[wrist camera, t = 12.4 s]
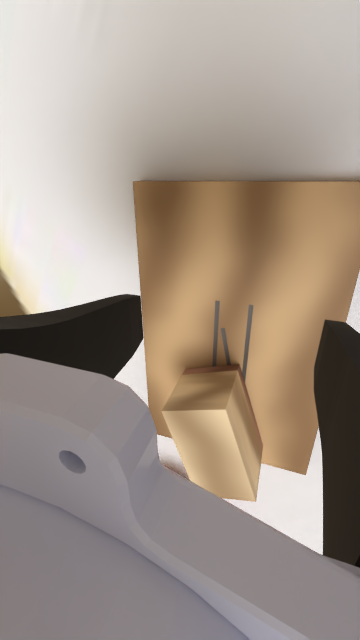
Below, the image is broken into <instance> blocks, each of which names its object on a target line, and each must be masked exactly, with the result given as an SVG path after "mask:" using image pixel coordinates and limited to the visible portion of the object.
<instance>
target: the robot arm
mask: <svg viewBox="0 0 360 640" xmlns="http://www.w3.org/2000/svg"><path fill="white" fill-rule="evenodd" d="M142 340H143V326H142V312H141V298H140V296H138V295H130V294H124V295H117V296H113V297H109V298H105V299H101V300H97V301H93V302H90V303H86V304H82V305H78V306H74V307H69V308H65V309H61V310H56V311H50V312H44V313H38V314H30V315H20V316H9V317H0V640H360V334H359V333H358V332H357V331H356V330H354V329H353V328H352V327H351V326H349V325H348V324H347V323H345V322H341V321H333V320H325V321H324V325H323V330H322V334H321V339H320V343H319V347H318V352H317V356H316V361H315V365H314V397H315V404H316V411H317V418H318V424H319V431H320V438H321V446H322V464H323V555H321V554H318V553H317V552H315V551H313V550H311V549H309V548H308V547H306V546H304V545H302V544H301V543H299V542H297V541H295V540H294V539H292V538H290V537H288V536H287V535H285V534H283V533H281V532H280V531H278V530H276V529H274V528H273V527H271V526H269V525H267V524H266V523H264V522H262V521H260V520H259V519H257V518H255V517H253V516H252V515H250V514H248V513H246V512H244V511H243V510H241V509H239V508H237V507H236V506H234V505H232V504H230V503H229V502H227V501H225V500H223V499H222V498H220V497H218V496H216V495H215V494H213V493H211V492H209V491H208V490H206V489H204V488H202V487H201V486H199V485H197V484H195V483H194V482H192V481H190V480H188V479H186V478H185V477H183V476H181V475H179V474H178V473H176V472H174V471H172V470H171V469H169V468H167V467H165V466H164V465H163V464H162V463H161V462H160V460H159V455H158V447H157V430H156V427H155V424H154V421H153V419H152V416H151V413H150V410H149V408H148V406H147V405H146V404H145V403H144V401H143V400H142V399H141V398H140V397H139V396H138V395H137V394H136V393H135V392H134V391H133V390H132V389H131V388H130V387H129V386H127V385H125V384H123V383H121V382H118V381H116V380H114V378H115V376H116V375H117V374H118V373H119V372H120V371H121V369H122V368H123V367H124V366H125V365H126V363H127V362H128V361H129V360H130V359H131V357H132V356H133V355H134V353H135V352H136V350H137V348H138V347H139V345H140V343H141V341H142Z"/></svg>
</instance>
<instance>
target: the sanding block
mask: <svg viewBox="0 0 360 640" xmlns="http://www.w3.org/2000/svg"><path fill="white" fill-rule="evenodd" d="M162 414H163V416H164V419H165V421H166V423H167V426H168V428H169V431H170V433H171V435H172V438H173V440H174V443H175V445H176V448H177V450H178V452H179V455H180V457H181V460H182V462H183V464H184V467H185V469H186V472H187V474H188V476H189V479H190V481H192V482H194V483H195V484H197V485H199V486H201V487H202V488H204V489H206V490H208V491H209V492H211V493H213V494H215V495H216V496H218V497H220V498H226V499H236V500H245V501H255V502H256V497H257V489H258V482H259V474H260V466H261V459H262V451H263V443H262V440H261V436H260V433H259V429H258V426H257V422H256V419H255V416H254V412H253V409H252V405H251V402H250V398H249V395H248V391H247V388H246V385H245V381H244V378H243V374H242V371H241V367H240V364H237V365H226V366H215V367H204V368H193V369H185V371H184V372H183V374H182V376H181V378H180V379H179V381H178V383H177V385H176V386H175V388H174V390H173V392H172V393H171V395H170V397H169V399H168V400H167V402H166V404H165V406H164V407H163V409H162Z"/></svg>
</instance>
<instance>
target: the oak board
mask: <svg viewBox="0 0 360 640" xmlns="http://www.w3.org/2000/svg"><path fill="white" fill-rule="evenodd" d="M133 190H134V204H135V218H136V233H137V247H138V261H139V275H140V289H141V304H142V318H143V332H144V346H145V360H146V375H147V389H148V403H149V410H150V413H151V416H152V419H153V421H154V424H155V427H156V430H157V434H158V435H162V436H165V437H169V438H172V435H171V433H170V431H169V428H168V426H167V423H166V421H165V419H164V416H163V414H162V409H163V407H164V406H165V404H166V402H167V400H168V399H169V397H170V395H171V393H172V392H173V390H174V388H175V386H176V385H177V383H178V381H179V379H180V378H181V376H182V374H183V372H184V371H185V369H193V368H204V367H215V366H226V365H237V364H240V367H241V371H242V374H243V378H244V381H245V385H246V388H247V391H248V395H249V398H250V402H251V405H252V409H253V412H254V416H255V419H256V422H257V426H258V429H259V433H260V436H261V440H262V443H263V451H262V459H261V463H263V464H267V465H271V466H274V467H278V468H281V469H285V470H289V471H292V472H296V473H300V474H303V475H306V472H307V468H308V465H309V461H310V457H311V453H312V449H313V445H314V442H315V438H316V434H317V430H318V426H319V424H318V418H317V411H316V404H315V397H314V365H315V361H316V356H317V352H318V347H319V343H320V339H321V334H322V330H323V325H324V321H325V320H333V321H341V322H345V323H346V320H347V316H348V312H349V308H350V304H351V300H352V297H353V293H354V289H355V285H356V281H357V278H358V274H359V270H360V181H135V182H133Z"/></svg>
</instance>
